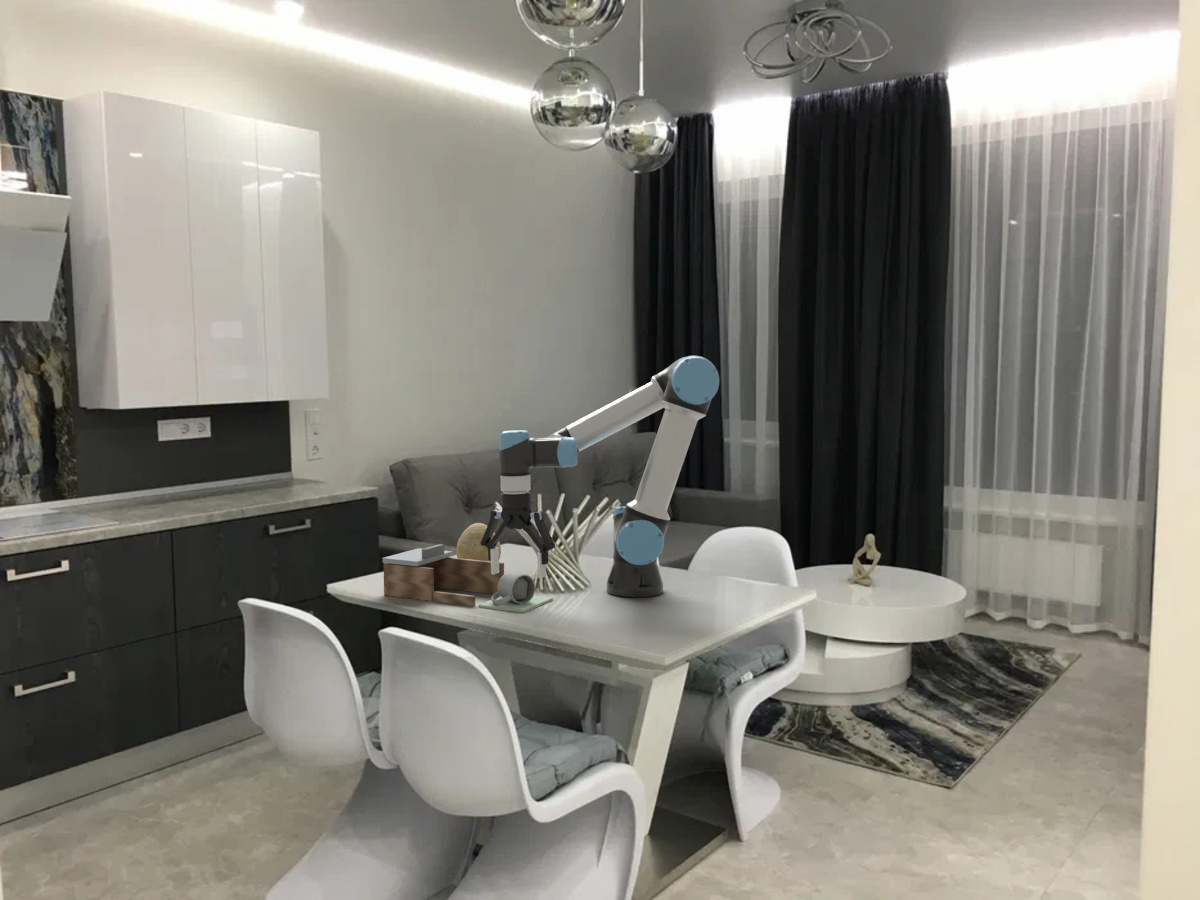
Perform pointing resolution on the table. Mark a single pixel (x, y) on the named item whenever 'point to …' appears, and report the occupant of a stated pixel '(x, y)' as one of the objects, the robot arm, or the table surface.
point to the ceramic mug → (514, 589)
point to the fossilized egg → (474, 543)
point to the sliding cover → (419, 556)
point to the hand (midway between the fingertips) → (518, 575)
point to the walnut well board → (441, 580)
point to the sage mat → (517, 607)
